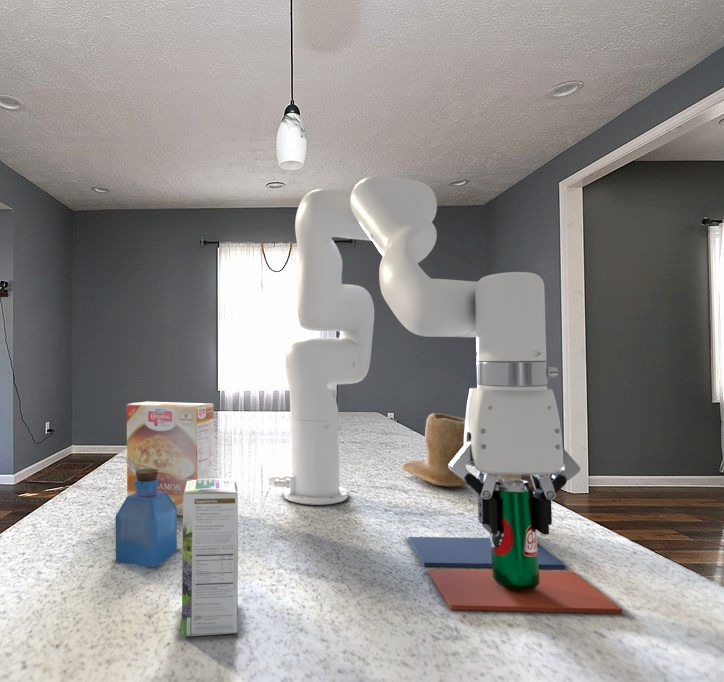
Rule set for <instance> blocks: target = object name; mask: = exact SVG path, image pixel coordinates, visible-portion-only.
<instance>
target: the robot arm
mask: <svg viewBox="0 0 724 682" xmlns="http://www.w3.org/2000/svg"><path fill="white" fill-rule="evenodd" d="M437 211H438V200H437V197H436V195H435V192H434V190H433V189H432V188H431V187H430V186H429V185H428V184H426V183H425V182H422V181H419V180H415V179H408V178H404V177H403V178H402V177H397V176H390V175H378V174H377V175H371V176H368V177H365V178H363V179H361V180H360V181H359V182H357V184H355V186H354V187H353V188H352V190H345V189H339V188H338V189H337V188H319V189H314V190H311V191H309V192H308V193H307V194H305V195H304V196H303V198H302V199H301V200H300V203H299V205H298V207H297V210H296V215H295V220H294V221H295V223H294V231H295V238H296V239H295V240H296V244H297V251H298V271H297V285H296V286H297V287H296V288H297V289H296V290H297V291H296V301H295V302H296V303H295V317H296V321H297V323H298V325H299V326H300V327H301V328H302V329H304V330H307V331H314V332H339V334H340V335H339V337H317V336H316V337H303V338H298V339H296V340H294V341H292V342H291V343H290V344H289V345H288V346H287V348H286V349H285V353H284V367H285V368H284V369H285V373H286V379H287V383H288V390H289V410H290V411H289V413H290V414H289V415H290V417H289V418H290V470H289V473H286V474H284V475H269V476H268V485H269V486H274V488H284V490H283V497H284V498H285V499H286V500H288V501H290V502H293V503H297V504H301V505H313V506H324V505H333V504H338V503H342V502H344V501H346V500H347V499H348V494H349V493H348V490H347V489H346V488H344V487H341V486H340V433H339V432H340V431H339V430H340V429H339V407H338V403H337V400H336V399H335V397H334V395H333V393H332V392H331V390H330V389H329V387H328V386H333V385H352V384H357V383H360V382H361V381H363V380H365V378H366V376H367V375H368V373H369V370H370V365H371V359H372V348H373V347H372V346H373V336H374V326H375V325H374V324H375V305H374V301H373V298H372V296H371V293H370V291H368V290H367V289H366V288H365V287H363V286H361V285H357V284H347V283H343V281H342V277H343V274H342V273H343V267H344V266H343V258H342V254H341V253H340V250H339V248H338V246H337V244H336V243H335V241H334V240H333V239H332V238H341V239H349V240H350V239H351V240H361V241H370V242H371V241H372V242H373V244H374V246H375V247H376V249H377V250H378V252H379V253H380V254H381V256H382V257H381V260H380V264H379V269H378V271H379V272H378V277H379V278H378V279H379V289H380V292H381V295H382V297H383V299H384V301H385V303H386V304H387V306H388V307H389V308H390V310H391V312H392V314H394V316H395V317H396V319H397V320H398V321H399V323H400V324H401V325H402V326H403V327H404V328H405V329H406V330H407V331H409V332H411V333H412V334H414V335H417V336H420V337H427V338H428V337H429V338H437V337H438V338H439V337H440V338H451V337H452V338H475V343H476V344H475V347H476V349H475V350H476V353H475V354H476V385H477V386H476V387H470V388H469V391H468V397H467V402H466V408H465V409H466V410H465V418H464V419H465V430H464V446H463V448H462V449H461V450H460V451H459V452H458V454H457V455H456V456H455V457H454V459H453V460H452V461H451V462H450V463H449V465H448V467H449V469H450V470H451V471H452V472H454V473H455V474H456V475H457V476H459V477H460V478H461V479H462V480H464V481H465V482H466V483H467V484H468V485H467V486H468V487H469V488H471V489H472V490H473V491H474V492H475V493H476V494H477V519H478V522H479V523H480V524H481V525H482V527H483V528H484V529H485V530H486V531H487V532H488V533H489V535H490V534H496V533H497V532H498V527H497V501H496V500H495V499H494V498H493V490H494V486H495V483H496V479H497V476H498V474H521V475H529V476H530V480H531V483H532V486H533V495H534V508H535V522H536V531H537V532H539V533H540V534H542V535H544V536H545V535H547V536H548V535H549V534H550V526H551V525H552V523H553V513H552V501H553V500H555V499H556V497H557V493H558V492H559V491H560V490H561V489H562V488H564V486H565V485H566V484H567V482H568V481H570V480H571V479H572V478H574V477H575V476H577V474H579V473H580V472H581V467H580V465H579V464H578V463H577V462H576V460H575V459H573V457H572V456H571V455H570V454H569V453H568V451H567V450H566V449H565V448H564V446H563V436H562V426H561V420H560V414H559V409H558V405H557V401H556V397H555V393H554V390H553V388H548V385H549V384H550V382H549V381H550V380H551V379H557V378H558V377H559V369H558V367H556V366H551V365H549V362H548V361H547V336H546V335H547V331H546V329H547V328H546V292H545V282H544V280H543V278H542V277H541V275H539V274H537V273H533V272H529V271H528V272H527V271H509V272H498V273H492V274H488V275H485V276H482V277H481V278H480V279H479V280H478V281H474V280H463V279H462V280H461V279H447V278H431V277H430V276H429V275H428V274H427V273H426V272H425V271H424V270H423V269H422V267H421V266H420V265H419V263H421V262H422V261H423V260H425V259H426V258H427V257H428V255H429V254H431V252H432V250H433V249H434V247H435V245H436V242H437V236H438V233H437V228H436V226H435V225H434V223H433V221H434V219H435V217H436V214H437ZM467 465H469V466H471V467H474V468H475V470H477V474H476V475H474V474H473V473H472V472H470V471H469V470H468V469H467Z"/></svg>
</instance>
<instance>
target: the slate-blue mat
mask: <svg viewBox="0 0 724 682" xmlns="http://www.w3.org/2000/svg"><path fill="white" fill-rule="evenodd" d="M407 540H408V542H409V544H410V545H411V547H412V548H413V550H414V552H415V554H416V555H417V557H418V558H419V560H420V561H421V564H422V565H423V566H424V567H443V568H444V567H450V568H451V567H452V568H453V567H454V568H492V563H491V546H490V537H455V536H454V537H451V536H450V537H449V536H448V537H445V536H441V537H440V536H408V537H407ZM537 550H538V564H539V569H566V564H564V563H563V562H562V561H561V560H560V559H558V558H557V557H556V556H554V555H553V554H551V553H550V552H549V551H548V550H546V548H544V547H543V546H542V545H541V544H539V543H537Z"/></svg>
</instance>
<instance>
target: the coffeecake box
mask: <svg viewBox="0 0 724 682" xmlns="http://www.w3.org/2000/svg"><path fill="white" fill-rule="evenodd" d="M214 407H215V405H214V403H202V402H172V401H171V402H170V401H169V402H168V401H142V402H141V401H140V402H132V403H131V402H130V403H128V404H126V497H128V496H130V495H132V494H134V493H136V488H135V487H134V480H135V479H137V477H136V473H135V471H136V470H139V469H148V468H150V469H157V470H158V472H157V478H159V486H158V487H157V491H161V492H166V493H167V494H168V496H169V497H170V499H171V500H172V502H173V503H174V505H175V506H176V508H177V516H178V517H179V516H180V517H183V495H184V492H185V488H186V484H187V481H191V480H198V479H215V420H214V419H215V416H214V411H215V408H214Z"/></svg>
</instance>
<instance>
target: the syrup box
mask: <svg viewBox="0 0 724 682" xmlns="http://www.w3.org/2000/svg"><path fill="white" fill-rule="evenodd" d="M238 491H239V490H238V484H237V481H236V480H234V479H224V478H214V479H198V480H191V481H187V484H186V488H185V492H184V495H183V516H182V549H181V550H182V553H181V554H182V557H181V558H182V561H181V562H182V563H181V565H182V566H181V567H182V568H181V577H182V578H181V635H182V636H183V637H199V636H216V635H227V634H228V635H230V634H237V633H238V626H239V625H238V614H239V613H238V611H239V609H238V608H239V605H238V604H239V603H238V602H239V601H238V600H239V598H238V597H239V593H238V592H239V586H238V584H239V580H238V579H239V506H238V505H239V499H238V498H239V493H238Z"/></svg>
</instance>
